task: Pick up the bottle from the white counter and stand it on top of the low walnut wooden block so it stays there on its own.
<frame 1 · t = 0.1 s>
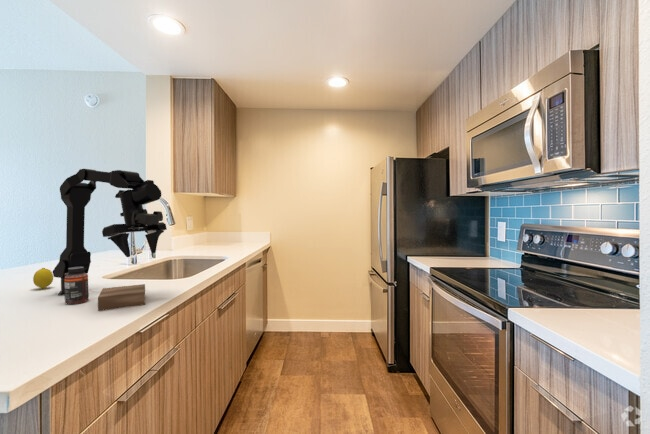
hand: (141, 254, 98), 15 cm above the countertop, tool pointing down, fingers open, 9 cm apart
walnut block: (123, 302, 98), on the countertop
supplement bottle: (76, 302, 98), on the countertop
lemon: (43, 289, 114), on the countertop
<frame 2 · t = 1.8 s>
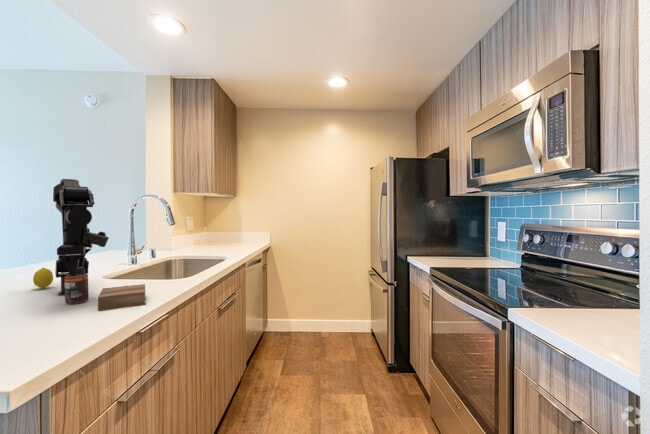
hand: (76, 273, 98), 9 cm above the countertop, tool pointing down, fingers open, 9 cm apart
nothing on the countertop moved.
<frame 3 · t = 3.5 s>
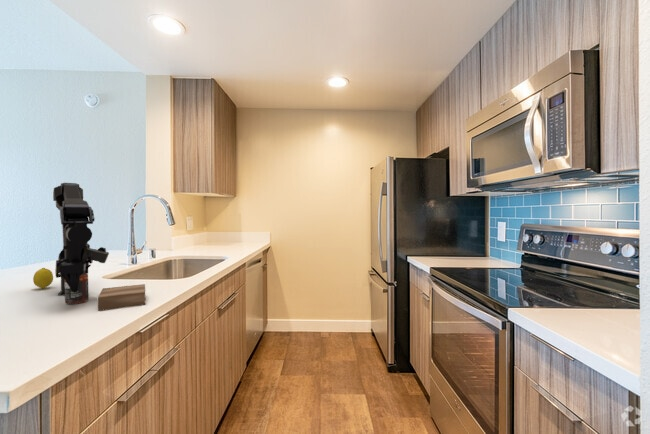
hand: (76, 289, 98), 4 cm above the countertop, tool pointing down, fingers closed on supplement bottle, 6 cm apart
supplement bottle: (77, 302, 98), on the countertop, touching gripper
everything else where it was.
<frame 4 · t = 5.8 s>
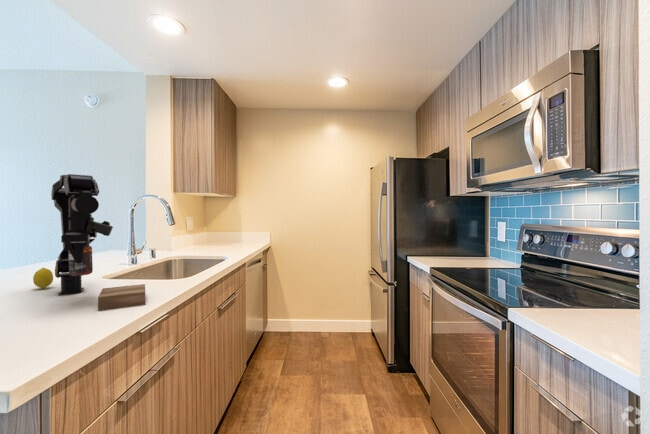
hand: (80, 262, 97), 13 cm above the countertop, tool pointing down, fingers closed on supplement bottle, 6 cm apart
supplement bottle: (81, 275, 98), point 9 cm above the countertop, touching gripper
everything else where it was.
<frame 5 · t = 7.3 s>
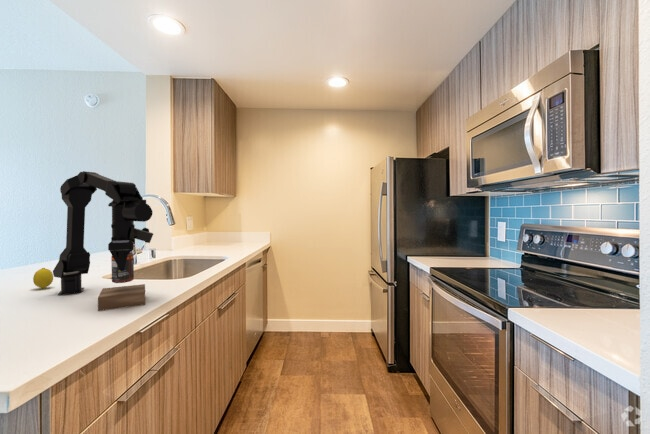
hand: (122, 269, 97), 11 cm above the countertop, tool pointing down, fingers closed on supplement bottle, 6 cm apart
supplement bottle: (122, 282, 97), point 7 cm above the countertop, touching gripper
everything else where it was.
when the fingers open (9 cm above the countertop, at t = 8.5 s): supplement bottle drops 1 cm, resting on walnut block.
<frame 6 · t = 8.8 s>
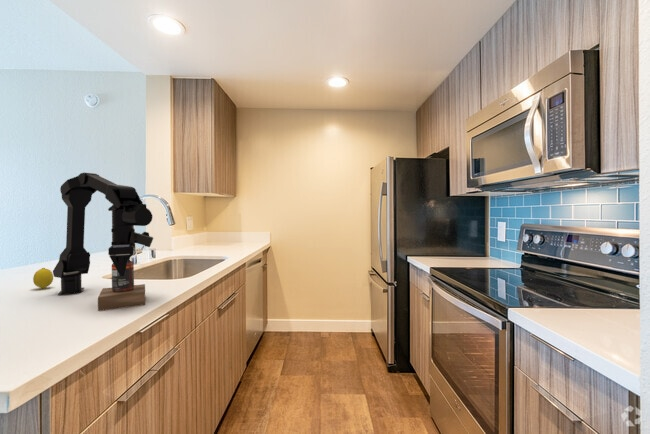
hand: (123, 273, 97), 9 cm above the countertop, tool pointing down, fingers open, 9 cm apart
supplement bottle: (123, 290, 98), point 4 cm above the countertop, touching walnut block
everything else where it was.
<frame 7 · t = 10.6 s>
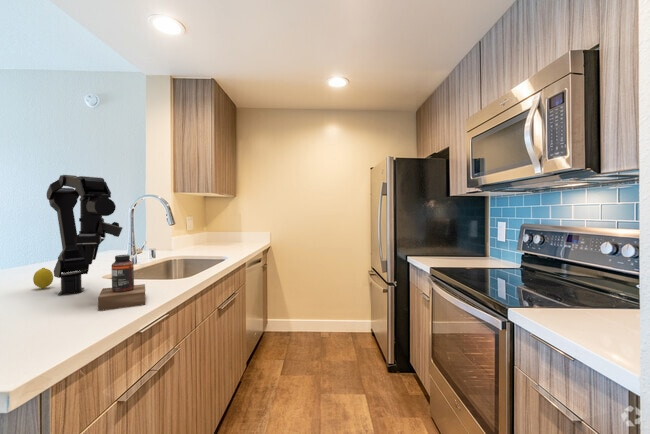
hand: (91, 262, 100), 13 cm above the countertop, tool pointing down, fingers open, 9 cm apart
nothing on the countertop moved.
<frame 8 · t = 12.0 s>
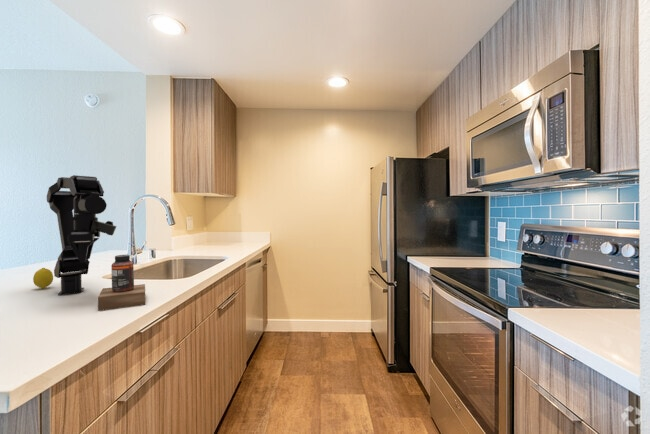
hand: (85, 260, 100), 13 cm above the countertop, tool pointing down, fingers open, 9 cm apart
nothing on the countertop moved.
at the end: supplement bottle inside the target area on the walnut block (0.1 cm from its centre), point 3.8 cm above the walnut block's base; supplement bottle tilted 0°; supplement bottle touching walnut block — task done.
